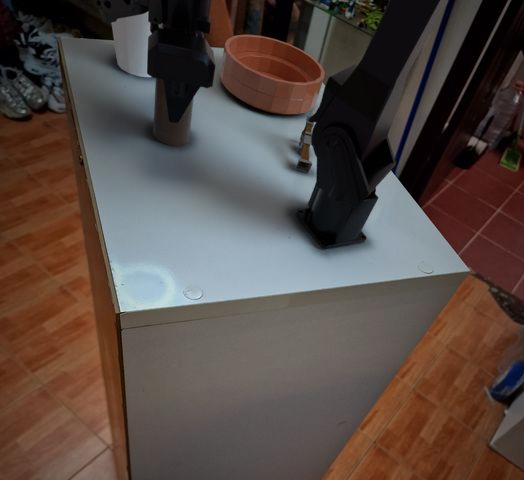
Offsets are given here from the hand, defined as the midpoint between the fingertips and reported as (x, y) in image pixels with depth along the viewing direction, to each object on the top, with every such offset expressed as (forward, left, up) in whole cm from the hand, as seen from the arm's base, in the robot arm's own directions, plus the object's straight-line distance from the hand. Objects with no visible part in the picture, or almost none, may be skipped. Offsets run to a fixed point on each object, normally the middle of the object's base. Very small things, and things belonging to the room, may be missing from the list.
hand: (173, 111), depth 52 cm
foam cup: (+18, -2, -3) cm, 18 cm away
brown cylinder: (0, 0, -3) cm, 3 cm away
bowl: (+11, -20, -3) cm, 23 cm away
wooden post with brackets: (-6, -16, -3) cm, 17 cm away
